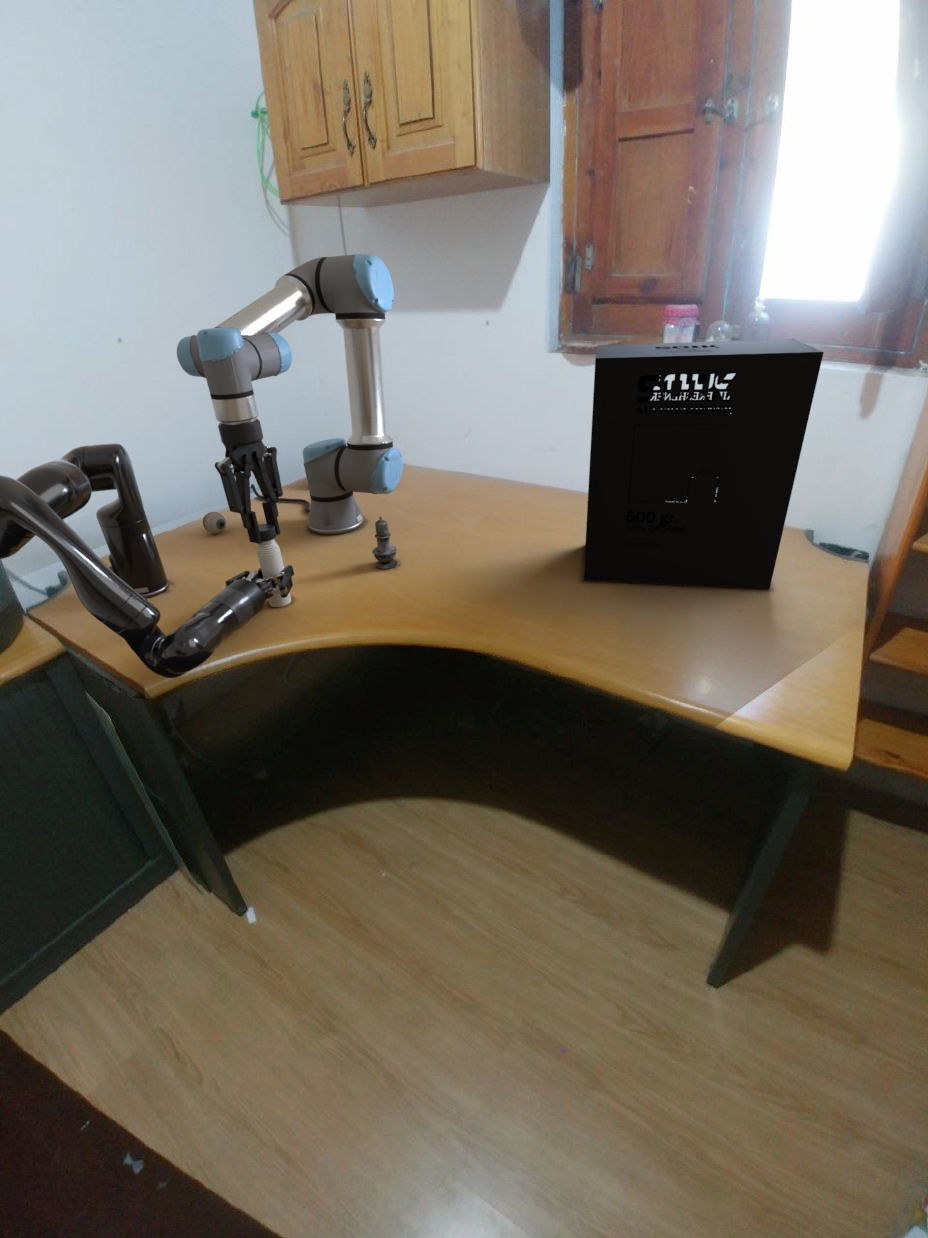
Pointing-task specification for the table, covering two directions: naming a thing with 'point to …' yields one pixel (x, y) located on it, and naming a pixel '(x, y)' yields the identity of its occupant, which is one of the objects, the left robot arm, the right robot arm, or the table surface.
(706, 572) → the cardboard box
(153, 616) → the left robot arm
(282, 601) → the bottle
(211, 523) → the eyeball
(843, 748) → the table surface
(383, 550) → the grey tall turned piece
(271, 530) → the cap
